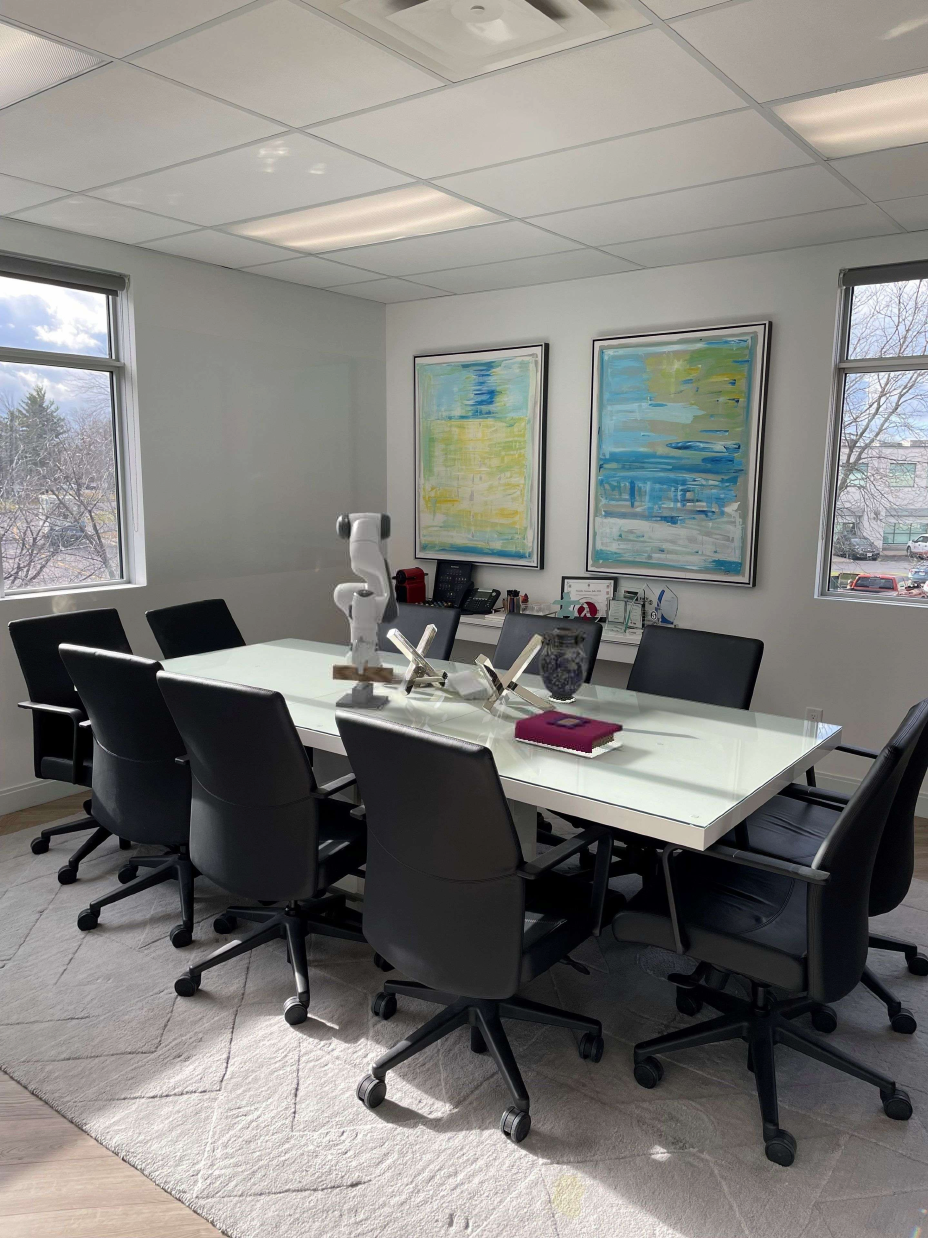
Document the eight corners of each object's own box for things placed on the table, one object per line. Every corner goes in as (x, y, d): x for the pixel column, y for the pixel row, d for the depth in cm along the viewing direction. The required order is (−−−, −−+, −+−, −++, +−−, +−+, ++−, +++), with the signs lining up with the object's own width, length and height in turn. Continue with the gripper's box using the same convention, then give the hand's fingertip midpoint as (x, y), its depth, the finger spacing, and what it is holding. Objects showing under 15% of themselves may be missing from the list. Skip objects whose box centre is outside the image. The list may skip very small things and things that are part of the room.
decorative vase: (567, 692, 359) (571, 623, 354) (598, 702, 343) (602, 630, 339) (524, 697, 347) (528, 626, 342) (554, 709, 332) (558, 634, 327)
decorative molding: (464, 706, 342) (489, 699, 343) (462, 695, 341) (486, 687, 342) (447, 687, 375) (470, 680, 376) (445, 676, 374) (468, 669, 375)
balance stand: (347, 697, 338) (347, 675, 337) (388, 699, 336) (388, 677, 335) (335, 706, 324) (336, 683, 322) (379, 709, 321) (379, 686, 320)
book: (590, 761, 270) (591, 736, 269) (513, 742, 287) (514, 719, 286) (623, 746, 286) (624, 723, 285) (549, 730, 303) (550, 708, 302)
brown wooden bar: (393, 681, 329) (393, 668, 328) (391, 683, 326) (391, 669, 325) (334, 677, 332) (335, 664, 331) (332, 679, 329) (332, 666, 328)
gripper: (365, 640, 316) (364, 678, 318) (378, 631, 336) (378, 667, 338) (347, 639, 316) (347, 677, 318) (362, 630, 336) (361, 666, 338)
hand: (363, 672), depth 328 cm, fingers open, 4 cm apart
